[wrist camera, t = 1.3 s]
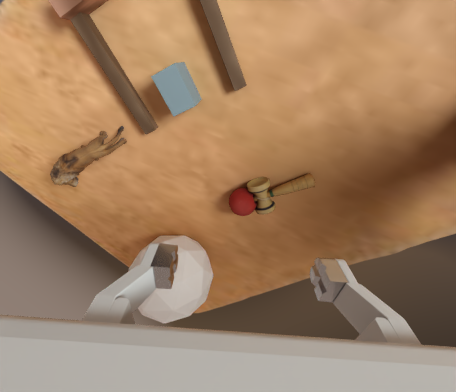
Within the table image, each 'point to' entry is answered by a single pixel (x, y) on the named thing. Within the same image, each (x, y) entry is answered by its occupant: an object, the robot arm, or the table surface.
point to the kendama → (264, 194)
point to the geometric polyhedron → (179, 282)
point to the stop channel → (79, 15)
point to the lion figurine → (83, 159)
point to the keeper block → (177, 88)
